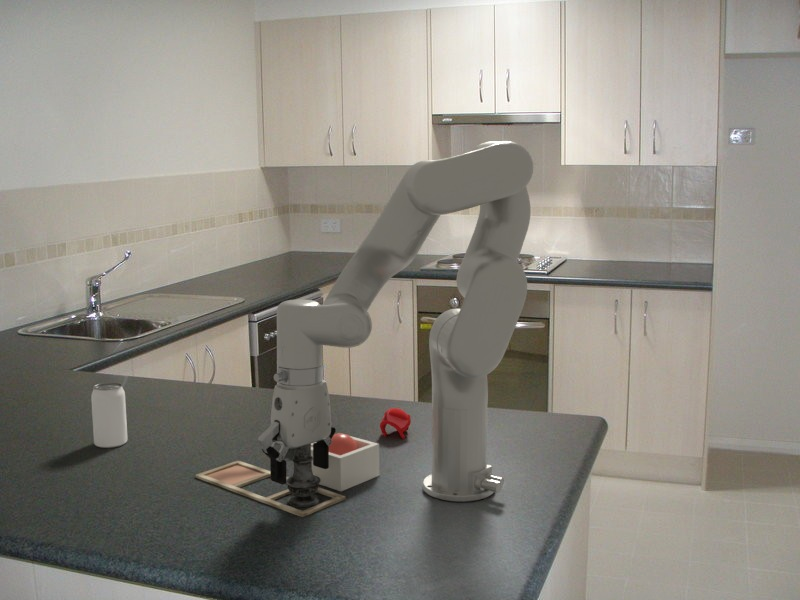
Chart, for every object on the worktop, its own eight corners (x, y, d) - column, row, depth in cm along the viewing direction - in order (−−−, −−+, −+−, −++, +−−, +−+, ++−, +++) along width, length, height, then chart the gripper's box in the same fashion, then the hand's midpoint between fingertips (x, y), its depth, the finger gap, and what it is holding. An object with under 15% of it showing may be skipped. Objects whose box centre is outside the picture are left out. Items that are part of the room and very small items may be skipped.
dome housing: (379, 475, 161) (379, 443, 160) (340, 491, 154) (340, 458, 153) (339, 463, 168) (339, 432, 167) (301, 478, 160) (300, 446, 159)
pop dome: (365, 467, 161) (364, 433, 160) (340, 477, 156) (340, 442, 155) (339, 459, 165) (339, 426, 164) (315, 469, 160) (314, 434, 159)
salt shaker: (328, 498, 151) (326, 430, 149) (306, 510, 146) (304, 439, 144) (300, 491, 154) (299, 424, 152) (278, 502, 149) (276, 434, 147)
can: (133, 443, 180) (130, 385, 178) (104, 450, 176) (100, 391, 174) (117, 436, 185) (114, 380, 183) (88, 443, 180) (84, 386, 178)
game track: (345, 499, 151) (345, 496, 150) (302, 517, 143) (302, 514, 143) (238, 462, 168) (238, 460, 168) (195, 477, 161) (195, 474, 161)
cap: (404, 428, 179) (417, 407, 183) (378, 416, 180) (391, 395, 184) (401, 450, 185) (414, 429, 188) (376, 438, 186) (389, 418, 190)
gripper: (275, 388, 137) (276, 494, 140) (352, 369, 151) (351, 466, 153) (244, 380, 142) (245, 482, 145) (321, 362, 155) (321, 456, 158)
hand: (300, 474), depth 149 cm, fingers open, 9 cm apart
